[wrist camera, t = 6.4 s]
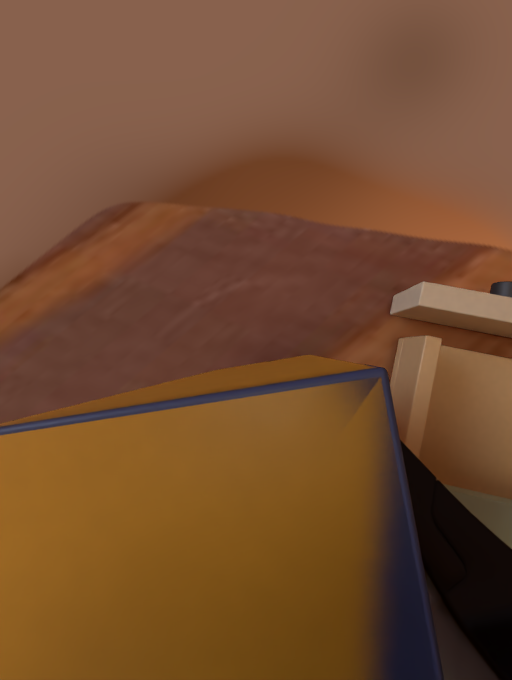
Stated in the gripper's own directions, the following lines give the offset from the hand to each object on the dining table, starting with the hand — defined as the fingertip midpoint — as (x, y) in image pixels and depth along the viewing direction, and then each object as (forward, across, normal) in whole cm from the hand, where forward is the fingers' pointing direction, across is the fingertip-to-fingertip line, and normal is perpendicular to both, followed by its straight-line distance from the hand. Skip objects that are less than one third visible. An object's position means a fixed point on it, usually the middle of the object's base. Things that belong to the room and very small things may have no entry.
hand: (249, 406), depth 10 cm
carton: (+4, 0, +6) cm, 7 cm away
